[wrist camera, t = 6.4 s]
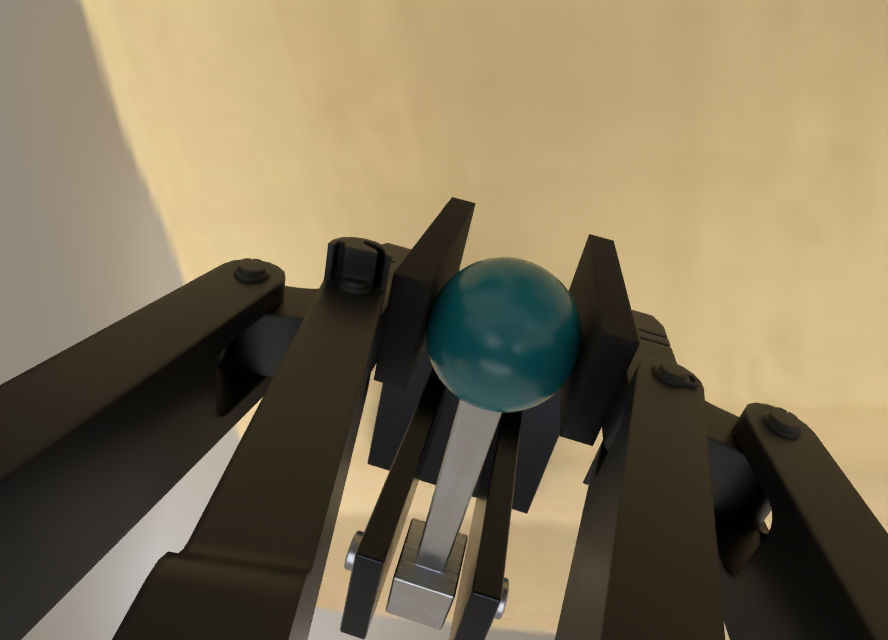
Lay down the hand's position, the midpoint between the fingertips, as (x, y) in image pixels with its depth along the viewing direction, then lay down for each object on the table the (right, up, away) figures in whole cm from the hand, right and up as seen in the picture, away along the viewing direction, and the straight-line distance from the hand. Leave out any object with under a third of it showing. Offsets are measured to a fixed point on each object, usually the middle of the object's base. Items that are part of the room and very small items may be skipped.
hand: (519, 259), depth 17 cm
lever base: (-1, -6, +14) cm, 15 cm away
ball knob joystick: (-2, -6, +1) cm, 6 cm away
